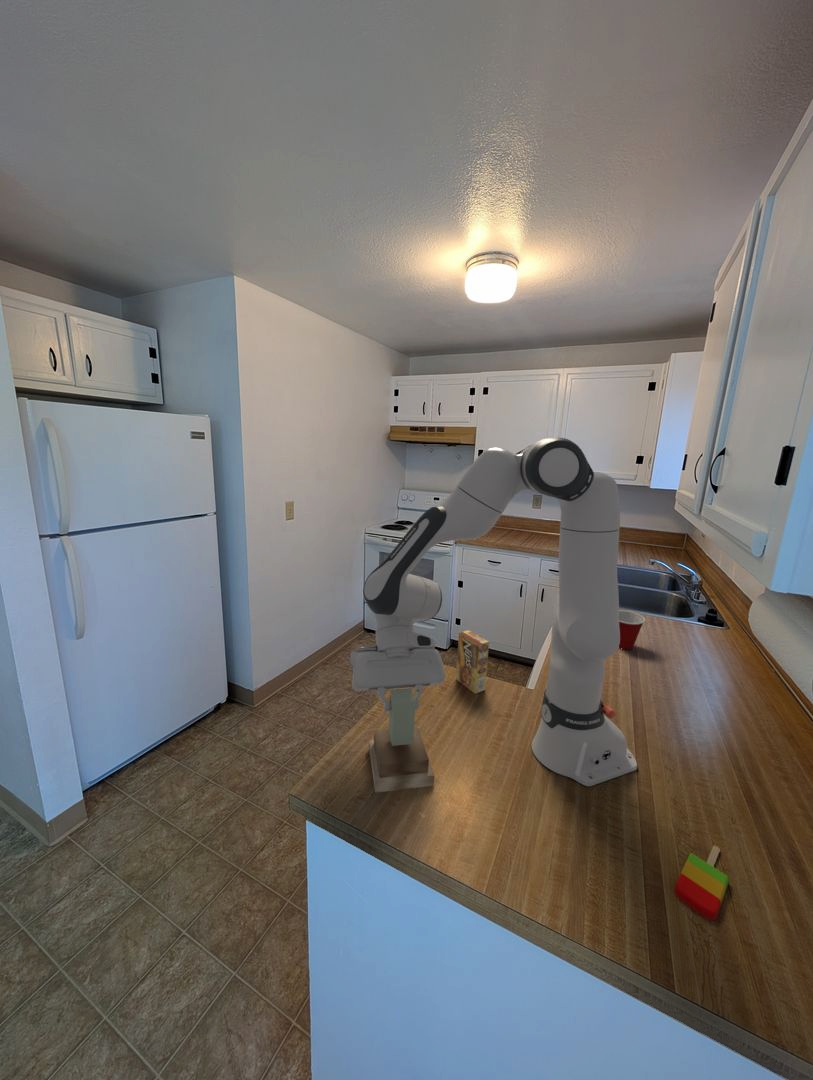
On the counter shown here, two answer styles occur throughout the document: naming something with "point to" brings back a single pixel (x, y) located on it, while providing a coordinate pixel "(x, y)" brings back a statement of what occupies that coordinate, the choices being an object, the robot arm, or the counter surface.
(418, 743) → the tower top
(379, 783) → the tower base
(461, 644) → the candy box
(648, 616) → the counter surface
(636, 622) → the plastic cup
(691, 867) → the popsicle
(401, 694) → the green block
